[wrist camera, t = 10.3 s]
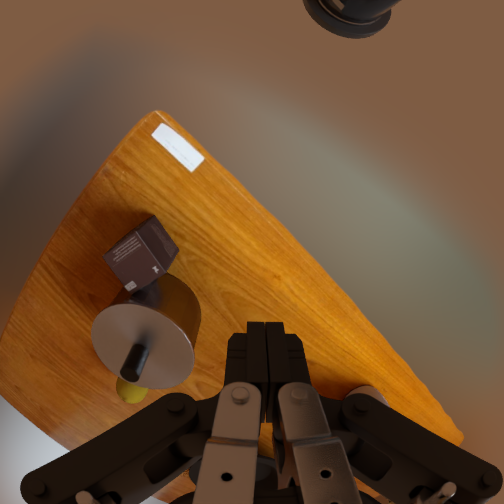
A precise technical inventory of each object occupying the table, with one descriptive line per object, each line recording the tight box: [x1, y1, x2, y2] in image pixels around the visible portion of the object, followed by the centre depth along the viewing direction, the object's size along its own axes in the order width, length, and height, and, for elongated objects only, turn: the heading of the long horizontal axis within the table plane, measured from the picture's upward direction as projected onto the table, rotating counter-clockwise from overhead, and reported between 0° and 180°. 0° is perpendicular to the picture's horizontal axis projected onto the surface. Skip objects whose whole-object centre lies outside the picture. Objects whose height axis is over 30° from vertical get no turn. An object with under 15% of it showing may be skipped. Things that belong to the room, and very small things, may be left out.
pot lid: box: [91, 302, 195, 389], centre depth 33 cm, size 14×14×6 cm
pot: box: [109, 273, 201, 349], centre depth 40 cm, size 13×13×10 cm
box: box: [102, 215, 179, 294], centre depth 37 cm, size 6×6×7 cm
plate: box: [189, 454, 278, 490], centre depth 58 cm, size 28×24×6 cm
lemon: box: [116, 377, 148, 404], centre depth 45 cm, size 6×6×8 cm
